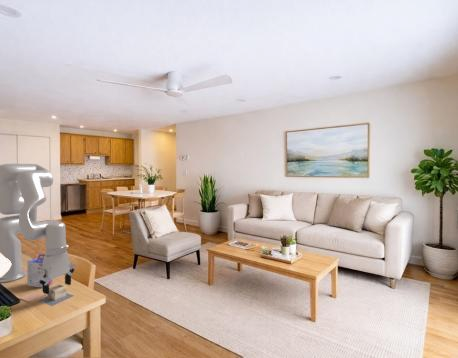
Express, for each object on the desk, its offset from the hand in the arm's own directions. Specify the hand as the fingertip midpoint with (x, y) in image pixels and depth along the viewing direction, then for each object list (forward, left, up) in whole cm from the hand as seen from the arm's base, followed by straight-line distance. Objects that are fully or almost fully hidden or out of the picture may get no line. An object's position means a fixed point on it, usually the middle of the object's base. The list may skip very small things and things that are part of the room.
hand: (57, 288), depth 122 cm
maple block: (0, 0, -4) cm, 4 cm away
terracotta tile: (-9, -5, -4) cm, 11 cm away
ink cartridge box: (-19, +4, -4) cm, 20 cm away
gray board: (+1, -1, -4) cm, 4 cm away
